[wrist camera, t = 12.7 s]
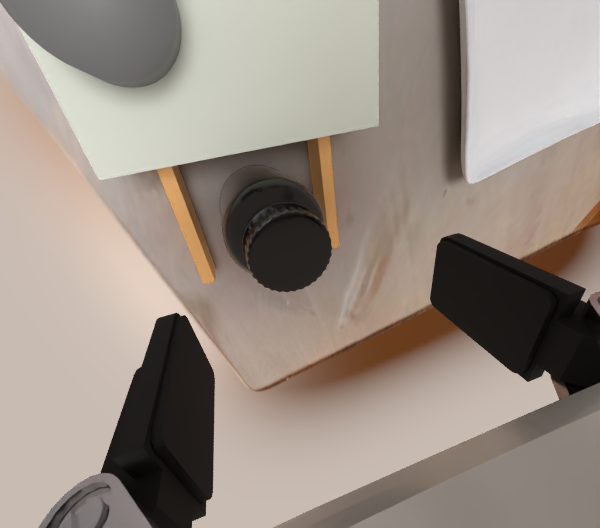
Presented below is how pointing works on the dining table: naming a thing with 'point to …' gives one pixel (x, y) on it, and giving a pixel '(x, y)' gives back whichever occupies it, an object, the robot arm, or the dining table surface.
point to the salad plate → (525, 78)
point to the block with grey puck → (206, 84)
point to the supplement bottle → (274, 228)
